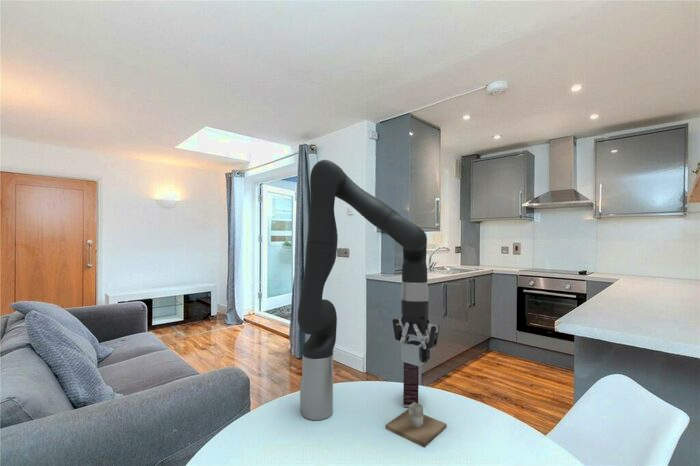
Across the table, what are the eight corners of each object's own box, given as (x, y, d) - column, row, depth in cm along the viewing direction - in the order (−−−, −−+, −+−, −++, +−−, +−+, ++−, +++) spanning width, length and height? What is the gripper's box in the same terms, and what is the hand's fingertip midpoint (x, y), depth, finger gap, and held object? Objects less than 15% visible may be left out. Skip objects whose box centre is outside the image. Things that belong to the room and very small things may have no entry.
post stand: (385, 428, 87) (385, 406, 87) (409, 412, 96) (409, 391, 96) (424, 447, 79) (424, 422, 79) (446, 427, 87) (446, 405, 88)
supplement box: (419, 409, 97) (418, 356, 98) (403, 407, 98) (402, 355, 99) (418, 396, 106) (418, 348, 106) (404, 395, 107) (403, 347, 107)
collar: (401, 361, 88) (400, 342, 88) (411, 356, 92) (411, 338, 92) (418, 366, 84) (418, 347, 84) (429, 360, 88) (429, 342, 88)
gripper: (385, 296, 91) (386, 356, 90) (431, 302, 81) (432, 369, 80) (400, 294, 96) (401, 350, 96) (444, 299, 87) (445, 362, 86)
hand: (415, 359), depth 88 cm, fingers closed on collar, 5 cm apart
